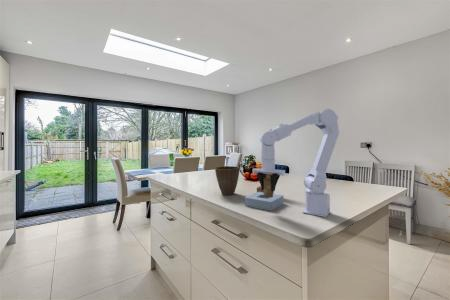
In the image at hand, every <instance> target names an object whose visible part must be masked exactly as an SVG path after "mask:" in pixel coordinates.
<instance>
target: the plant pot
mask: <svg viewBox="0 0 450 300" xmlns="http://www.w3.org/2000/svg"><path fill="white" fill-rule="evenodd" d="M214 170H215V176H216V181H217V184H218V187H219V190H220V193H221V195H223V196H232V195H235V192H236V189H237V185H238V182H239V175H240V167H239V166H217V167H215V168H214Z"/></svg>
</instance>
